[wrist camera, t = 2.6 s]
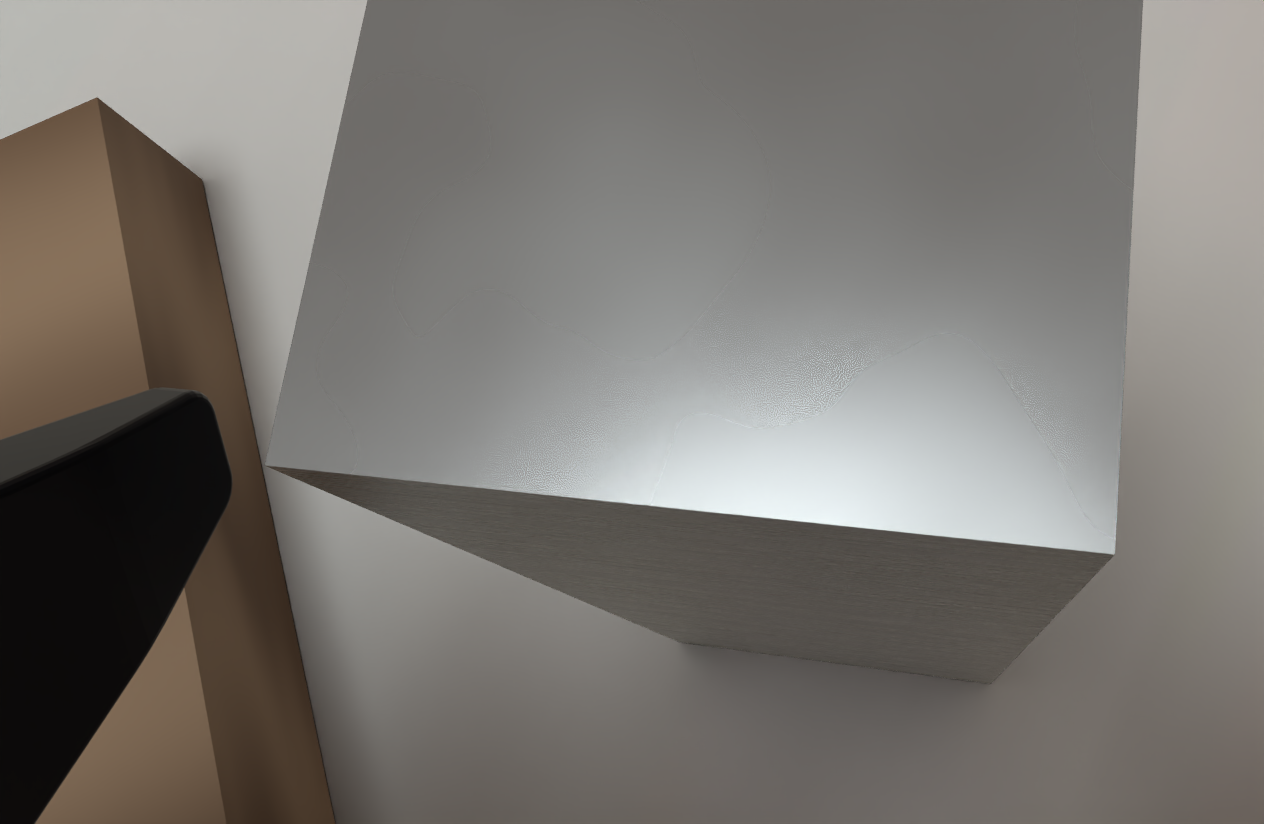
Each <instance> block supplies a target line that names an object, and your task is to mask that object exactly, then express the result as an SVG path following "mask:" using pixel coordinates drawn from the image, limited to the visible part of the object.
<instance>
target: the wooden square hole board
mask: <svg viewBox="0 0 1264 824" xmlns="http://www.w3.org/2000/svg"><path fill="white" fill-rule="evenodd" d="M160 387H164V388H176V389H187V390H195V391H199V392H201V393H203V394H204V395H206V396H207V397H208V399H209V400H210V401H211V403H212V405H213V407H214V410H215V413H216V417H217V421H218V424H219V428H220V431H221V435H222V439H223V442H224V446H225V450H226V453H227V457H228V460H229V464H230V468H231V472H232V480H233V486H232V494H231V497H230V501H229V503H228V506H227V508H226V510H225V512H224V513H223V515H222V517H221V519H220V521H219V523H218V525H217V527H216V529H215V530H214V532H213V534H212V536H211V538H210V540H209V542H208V544H207V546H206V547H205V549H204V551H203V553H202V555H201V557H200V559H199V561H198V563H197V564H196V566H195V568H194V570H193V572H192V574H191V576H190V578H189V580H188V581H187V583H186V585H185V587H184V589H183V591H182V593H181V595H180V597H179V598H178V600H177V602H176V604H175V606H174V608H173V610H172V612H171V613H170V615H169V617H168V619H167V621H166V623H165V625H164V627H163V628H162V630H161V632H160V634H159V635H158V637H157V639H156V641H155V643H154V644H153V646H152V648H151V650H150V651H149V653H148V654H147V656H146V657H145V659H144V661H143V662H142V664H141V665H140V667H139V668H138V670H137V672H136V673H135V675H134V676H133V678H132V679H131V681H130V682H129V684H128V685H127V687H126V688H125V690H124V691H123V693H122V694H121V696H120V697H119V699H118V700H117V702H116V703H115V705H114V706H113V708H112V709H111V711H110V712H109V714H108V715H107V717H106V718H105V720H104V721H103V723H102V724H101V726H100V727H99V729H98V730H97V732H96V733H95V735H94V736H93V738H92V739H91V741H90V742H89V744H88V745H87V747H86V748H85V750H84V751H83V753H82V754H81V756H80V757H79V759H78V760H77V762H76V763H75V765H74V766H73V768H72V769H71V771H70V772H69V774H68V775H67V777H66V778H65V780H64V781H63V783H62V784H61V786H60V787H59V789H58V790H57V792H56V793H55V795H54V796H53V798H52V799H51V801H50V802H49V804H48V805H47V807H46V808H45V810H44V811H43V813H42V814H41V816H40V817H39V818H38V820H37V821H36V823H35V824H335V820H334V815H333V811H332V806H331V801H330V796H329V791H328V786H327V782H326V777H325V772H324V767H323V762H322V757H321V753H320V748H319V743H318V738H317V733H316V728H315V724H314V719H313V714H312V709H311V704H310V699H309V695H308V690H307V685H306V680H305V675H304V670H303V666H302V661H301V656H300V651H299V646H298V641H297V637H296V632H295V627H294V622H293V617H292V612H291V608H290V603H289V598H288V593H287V588H286V583H285V579H284V574H283V569H282V564H281V559H280V555H279V550H278V545H277V540H276V535H275V530H274V526H273V521H272V516H271V511H270V506H269V501H268V497H267V492H266V487H265V482H264V477H263V472H262V468H261V463H260V458H259V453H258V448H257V443H256V439H255V434H254V429H253V424H252V419H251V414H250V410H249V405H248V400H247V395H246V390H245V385H244V381H243V376H242V371H241V366H240V361H239V356H238V352H237V347H236V342H235V337H234V332H233V327H232V323H231V318H230V313H229V308H228V303H227V298H226V294H225V289H224V284H223V279H222V274H221V270H220V265H219V260H218V255H217V250H216V245H215V241H214V236H213V231H212V226H211V221H210V216H209V212H208V207H207V202H206V197H205V192H204V187H203V183H202V179H201V178H199V177H198V176H197V175H196V174H194V173H193V172H192V171H190V170H189V169H188V168H187V167H185V166H184V165H183V164H182V163H180V162H179V161H178V160H176V159H175V158H174V157H173V156H171V155H170V154H169V153H167V152H166V151H165V150H164V149H162V148H161V147H160V146H159V145H157V144H156V143H155V142H153V141H152V140H151V139H150V138H148V137H147V136H146V135H144V134H143V133H142V132H141V131H139V130H138V129H137V128H136V127H134V126H133V125H132V124H130V123H129V122H128V121H127V120H125V119H124V118H123V117H122V116H120V115H119V114H118V113H116V112H115V111H114V110H113V109H111V108H110V107H109V106H107V105H106V104H105V103H104V102H102V101H101V100H100V99H99V98H95V99H92V100H90V101H88V102H85V103H83V104H81V105H79V106H76V107H74V108H72V109H69V110H67V111H65V112H63V113H60V114H58V115H56V116H53V117H51V118H49V119H46V120H44V121H42V122H40V123H37V124H35V125H33V126H30V127H28V128H26V129H24V130H21V131H19V132H17V133H14V134H12V135H10V136H8V137H5V138H3V139H1V140H0V440H1V439H4V438H7V437H10V436H13V435H16V434H19V433H22V432H25V431H28V430H30V429H33V428H36V427H39V426H42V425H45V424H48V423H51V422H54V421H57V420H60V419H63V418H66V417H69V416H72V415H75V414H78V413H81V412H84V411H87V410H90V409H93V408H96V407H99V406H102V405H105V404H108V403H111V402H114V401H117V400H120V399H123V398H126V397H129V396H132V395H135V394H138V393H140V392H143V391H146V390H149V389H153V388H160Z"/></svg>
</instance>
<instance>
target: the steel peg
mask: <svg viewBox="0 0 1264 824" xmlns="http://www.w3.org/2000/svg"><path fill="white" fill-rule="evenodd" d="M1142 10H1143V0H368V1H367V6H366V10H365V15H364V19H363V24H362V28H361V33H360V37H359V42H358V46H357V51H356V55H355V60H354V64H353V69H352V73H351V78H350V82H349V87H348V91H347V96H346V100H345V105H344V109H343V114H342V118H341V123H340V127H339V132H338V136H337V141H336V145H335V150H334V154H333V159H332V163H331V168H330V172H329V177H328V182H327V186H326V191H325V195H324V200H323V204H322V209H321V213H320V218H319V222H318V227H317V231H316V236H315V240H314V245H313V249H312V254H311V258H310V263H309V267H308V272H307V276H306V281H305V285H304V290H303V294H302V299H301V303H300V308H299V312H298V317H297V321H296V326H295V330H294V335H293V339H292V344H291V348H290V353H289V357H288V362H287V367H286V371H285V376H284V380H283V385H282V389H281V394H280V398H279V403H278V407H277V412H276V416H275V421H274V425H273V430H272V434H271V439H270V443H269V448H268V452H267V457H266V461H265V466H267V467H270V468H272V469H274V470H277V471H279V472H281V473H284V474H286V475H288V476H291V477H293V478H295V479H298V480H300V481H302V482H305V483H307V484H309V485H312V486H314V487H316V488H319V489H321V490H324V491H326V492H328V493H331V494H333V495H335V496H338V497H340V498H342V499H345V500H347V501H349V502H352V503H354V504H356V505H359V506H361V507H363V508H366V509H368V510H370V511H373V512H375V513H377V514H380V515H382V516H384V517H387V518H389V519H391V520H394V521H396V522H399V523H401V524H403V525H406V526H408V527H410V528H413V529H415V530H417V531H420V532H422V533H424V534H427V535H429V536H431V537H434V538H436V539H438V540H441V541H443V542H445V543H448V544H450V545H452V546H455V547H457V548H459V549H462V550H464V551H467V552H469V553H471V554H474V555H476V556H478V557H481V558H483V559H485V560H488V561H490V562H492V563H495V564H497V565H499V566H502V567H504V568H506V569H509V570H511V571H513V572H516V573H518V574H520V575H523V576H525V577H527V578H530V579H532V580H534V581H537V582H539V583H542V584H544V585H546V586H549V587H551V588H553V589H556V590H558V591H560V592H563V593H565V594H567V595H570V596H572V597H574V598H577V599H579V600H581V601H584V602H586V603H588V604H591V605H593V606H595V607H598V608H600V609H602V610H605V611H607V612H610V613H612V614H614V615H617V616H619V617H621V618H624V619H626V620H628V621H631V622H633V623H635V624H638V625H640V626H642V627H645V628H647V629H649V630H652V631H654V632H656V633H659V634H661V635H663V636H666V637H668V638H670V639H673V640H675V641H677V642H682V643H689V644H697V645H704V646H712V647H719V648H727V649H734V650H742V651H749V652H756V653H764V654H771V655H779V656H786V657H794V658H801V659H809V660H816V661H823V662H831V663H838V664H846V665H853V666H861V667H868V668H876V669H883V670H890V671H898V672H905V673H913V674H920V675H928V676H935V677H943V678H950V679H957V680H965V681H972V682H980V683H987V684H991V683H992V682H993V681H994V680H995V679H996V678H997V677H998V676H999V675H1000V674H1001V673H1002V672H1003V671H1004V670H1005V669H1006V668H1007V667H1008V666H1009V665H1010V664H1011V663H1012V661H1013V660H1014V659H1015V658H1016V657H1017V656H1018V655H1019V654H1020V653H1021V652H1022V651H1023V650H1024V649H1025V648H1026V647H1027V646H1028V645H1029V644H1030V643H1031V642H1032V641H1033V640H1034V638H1035V637H1036V636H1037V635H1038V634H1039V633H1040V632H1041V631H1042V630H1043V629H1044V628H1045V627H1046V626H1047V625H1048V624H1049V623H1050V622H1051V621H1052V620H1053V619H1054V618H1055V616H1056V615H1057V614H1058V613H1059V612H1060V611H1061V610H1062V609H1063V608H1064V607H1065V606H1066V605H1067V604H1068V603H1069V602H1070V601H1071V600H1072V599H1073V598H1074V597H1075V596H1076V595H1077V593H1078V592H1079V591H1080V590H1081V589H1082V588H1083V587H1084V586H1085V585H1086V584H1087V583H1088V582H1089V581H1090V580H1091V579H1092V578H1093V577H1094V576H1095V575H1096V574H1097V573H1098V572H1099V570H1100V569H1101V568H1102V567H1103V566H1104V565H1105V564H1106V563H1107V562H1108V561H1109V560H1110V559H1111V558H1112V557H1113V556H1114V555H1115V543H1116V524H1117V504H1118V484H1119V464H1120V445H1121V425H1122V405H1123V385H1124V366H1125V346H1126V326H1127V306H1128V287H1129V267H1130V247H1131V227H1132V208H1133V188H1134V168H1135V148H1136V129H1137V109H1138V89H1139V69H1140V50H1141V30H1142Z"/></svg>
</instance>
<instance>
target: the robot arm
mask: <svg viewBox="0 0 1264 824" xmlns="http://www.w3.org/2000/svg"><path fill="white" fill-rule="evenodd" d="M232 486H233V480H232V472H231V468H230V464H229V460H228V457H227V453H226V450H225V446H224V442H223V439H222V435H221V431H220V428H219V424H218V421H217V417H216V413H215V410H214V407H213V405H212V403H211V401H210V400H209V399H208V397H207V396H206V395H204V394H203V393H201V392H199V391H195V390H187V389H176V388H164V387H160V388H153V389H149V390H146V391H143V392H140V393H138V394H135V395H132V396H129V397H126V398H123V399H120V400H117V401H114V402H111V403H108V404H105V405H102V406H99V407H96V408H93V409H90V410H87V411H84V412H81V413H78V414H75V415H72V416H69V417H66V418H63V419H60V420H57V421H54V422H51V423H48V424H45V425H42V426H39V427H36V428H33V429H30V430H28V431H25V432H22V433H19V434H16V435H13V436H10V437H7V438H4V439H1V440H0V824H35V823H36V821H37V820H38V818H39V817H40V816H41V814H42V813H43V811H44V810H45V808H46V807H47V805H48V804H49V802H50V801H51V799H52V798H53V796H54V795H55V793H56V792H57V790H58V789H59V787H60V786H61V784H62V783H63V781H64V780H65V778H66V777H67V775H68V774H69V772H70V771H71V769H72V768H73V766H74V765H75V763H76V762H77V760H78V759H79V757H80V756H81V754H82V753H83V751H84V750H85V748H86V747H87V745H88V744H89V742H90V741H91V739H92V738H93V736H94V735H95V733H96V732H97V730H98V729H99V727H100V726H101V724H102V723H103V721H104V720H105V718H106V717H107V715H108V714H109V712H110V711H111V709H112V708H113V706H114V705H115V703H116V702H117V700H118V699H119V697H120V696H121V694H122V693H123V691H124V690H125V688H126V687H127V685H128V684H129V682H130V681H131V679H132V678H133V676H134V675H135V673H136V672H137V670H138V668H139V667H140V665H141V664H142V662H143V661H144V659H145V657H146V656H147V654H148V653H149V651H150V650H151V648H152V646H153V644H154V643H155V641H156V639H157V637H158V635H159V634H160V632H161V630H162V628H163V627H164V625H165V623H166V621H167V619H168V617H169V615H170V613H171V612H172V610H173V608H174V606H175V604H176V602H177V600H178V598H179V597H180V595H181V593H182V591H183V589H184V587H185V585H186V583H187V581H188V580H189V578H190V576H191V574H192V572H193V570H194V568H195V566H196V564H197V563H198V561H199V559H200V557H201V555H202V553H203V551H204V549H205V547H206V546H207V544H208V542H209V540H210V538H211V536H212V534H213V532H214V530H215V529H216V527H217V525H218V523H219V521H220V519H221V517H222V515H223V513H224V512H225V510H226V508H227V506H228V503H229V501H230V497H231V494H232Z"/></svg>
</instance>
